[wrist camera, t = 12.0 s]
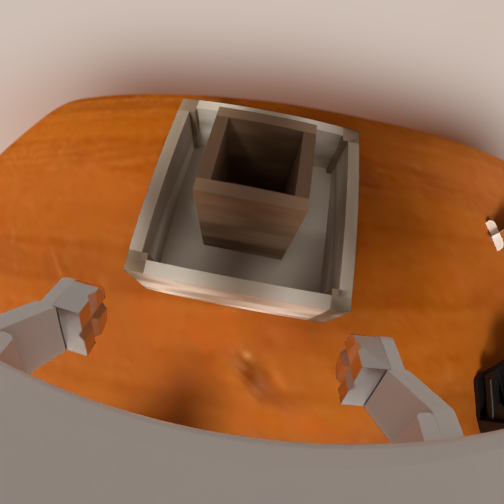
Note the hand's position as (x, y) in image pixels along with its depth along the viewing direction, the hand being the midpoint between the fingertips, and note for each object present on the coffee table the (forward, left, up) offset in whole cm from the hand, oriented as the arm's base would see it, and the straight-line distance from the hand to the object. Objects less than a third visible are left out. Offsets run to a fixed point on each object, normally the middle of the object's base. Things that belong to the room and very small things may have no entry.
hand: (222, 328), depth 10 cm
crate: (0, +9, -12) cm, 15 cm away
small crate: (0, +9, -11) cm, 14 cm away
